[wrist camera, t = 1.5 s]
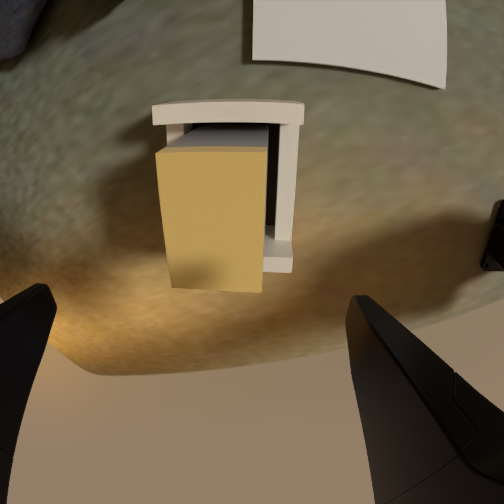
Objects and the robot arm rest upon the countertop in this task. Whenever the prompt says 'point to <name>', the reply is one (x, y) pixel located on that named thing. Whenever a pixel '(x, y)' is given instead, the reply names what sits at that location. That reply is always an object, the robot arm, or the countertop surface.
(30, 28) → the crumpled dark cloth
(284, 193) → the white rectangular frame
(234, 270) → the plug
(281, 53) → the mat
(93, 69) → the countertop surface
